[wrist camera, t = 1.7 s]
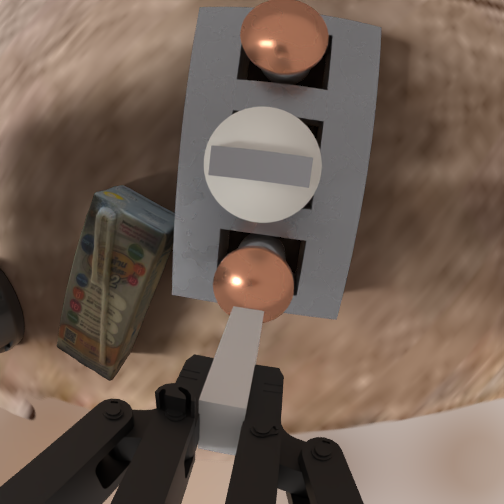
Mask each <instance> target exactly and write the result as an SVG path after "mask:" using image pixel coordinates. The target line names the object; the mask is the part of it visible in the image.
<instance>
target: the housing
mask: <svg viewBox="0 0 504 504" xmlns="http://www.w3.org/2000/svg"><path fill="white" fill-rule="evenodd" d="M252 9H254V8H248V7H200V9H199V14H198V20H197V25H196V31H195V37H194V43H193V49H192V55H191V62H190V69H189V76H188V83H187V90H186V98H185V106H184V115H183V124H182V133H181V143H180V153H179V165H178V177H177V190H176V205H175V222H174V243H173V273H172V295H177V296H182V297H188V298H193V299H199V300H205V301H211V302H217V300H216V298H215V295H214V291H213V279H214V275H215V272H216V270H217V268H218V266H219V265H220V263H221V261H222V260H223V259H224V258H225V257H226V256H227V254H228V243H229V233H230V230H234V231H241V232H248V233H255V234H263V235H270V236H277V237H284V238H290V239H297V240H301V245H300V251H299V257H298V263H297V268H296V273H293V272H292V274H293V279H294V293H293V297H292V300H291V303H290V305H289V306H288V308H287V309H286V310H285V312H283V313H289V314H296V315H304V316H311V317H319V318H327V319H336V320H337V316H338V312H339V308H340V304H341V300H342V296H343V292H344V288H345V284H346V280H347V275H348V271H349V266H350V262H351V257H352V253H353V248H354V243H355V238H356V233H357V228H358V223H359V218H360V212H361V207H362V201H363V196H364V190H365V184H366V177H367V171H368V164H369V157H370V150H371V143H372V135H373V127H374V119H375V109H376V100H377V89H378V77H379V63H380V47H381V27H378V26H374V25H370V24H365V23H361V22H356V21H352V20H347V19H342V18H337V17H331V16H325V15H320V16H321V17H322V18H323V20H324V21H325V24H326V26H327V29H328V35H329V37H328V45H327V48H326V51H325V54H326V55H325V65H324V75H323V85H322V89H317V88H310V87H304V86H297V85H289V84H281V83H272V82H262V81H251V80H247V75H248V67H249V58H248V56H247V55H246V53H245V51H244V49H243V46H242V43H241V38H240V31H241V26H242V23H243V21H244V19H245V17H246V16H247V15H248V13H249V12H250V11H251V10H252ZM252 107H273V108H278V109H281V110H284V111H286V112H288V113H290V114H292V115H294V116H295V117H297V118H298V119H300V120H301V121H302V122H303V123H304V124H305V125H312V126H318V128H317V136H316V141H317V143H318V146H319V149H320V153H321V160H322V170H321V177H320V181H319V184H318V187H317V189H316V191H315V193H314V195H313V196H312V198H311V199H310V200H309V202H308V203H307V204H306V205H305V206H304V207H303V208H302V209H300V210H299V211H298V212H296V213H295V214H293V215H292V216H290V217H287V218H285V219H282V220H279V221H275V222H268V223H259V222H251V221H247V220H244V219H241V218H239V217H237V216H235V215H233V214H231V213H230V212H228V211H227V210H226V209H224V208H223V207H222V206H221V205H220V204H219V203H218V202H217V200H216V199H215V198H214V196H213V195H212V193H211V191H210V189H209V187H208V185H207V182H206V178H205V174H204V155H205V150H206V147H207V144H208V141H209V139H210V137H211V135H212V134H213V132H214V131H215V129H216V128H217V127H218V126H219V125H220V124H221V123H222V122H223V121H224V120H225V119H227V118H228V117H229V116H231V115H233V114H234V113H236V112H238V111H241V110H244V109H247V108H252ZM217 303H218V302H217Z"/></svg>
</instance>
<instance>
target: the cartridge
mask: <svg viewBox="0 0 504 504" xmlns="http://www.w3.org/2000/svg"><path fill="white" fill-rule="evenodd" d="M321 170H322V160H321V153H320V149H319V146H318V143H317V141H316V139H315V137H314V135H313V134H312V132H311V131H310V129H309V128H308V127H307V126H306V125H305V124H304V123H303V122H302V121H301V120H300V119H298V118H297V117H295V116H294V115H292V114H290V113H288V112H286V111H284V110H281V109H278V108H273V107H252V108H247V109H244V110H241V111H238V112H236V113H234V114H233V115H231V116H229V117H228V118H227V119H225V120H224V121H223V122H222V123H221V124H220V125H219V126H218V127H217V128H216V129H215V131H214V132H213V134H212V135H211V137H210V139H209V141H208V144H207V147H206V150H205V155H204V174H205V178H206V182H207V185H208V187H209V189H210V191H211V193H212V195H213V196H214V198H215V199H216V200H217V202H218V203H219V204H220V205H221V206H222V207H223V208H224V209H226V210H227V211H228V212H230V213H231V214H233V215H235V216H237V217H239V218H241V219H244V220H247V221H251V222H259V223H268V222H275V221H279V220H282V219H285V218H287V217H290V216H292V215H293V214H295V213H296V212H298V211H299V210H300V209H302V208H303V207H304V206H305V205H306V204H307V203H308V202H309V200H310V199H311V198H312V196H313V195H314V193H315V191H316V189H317V187H318V184H319V181H320V177H321Z"/></svg>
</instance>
